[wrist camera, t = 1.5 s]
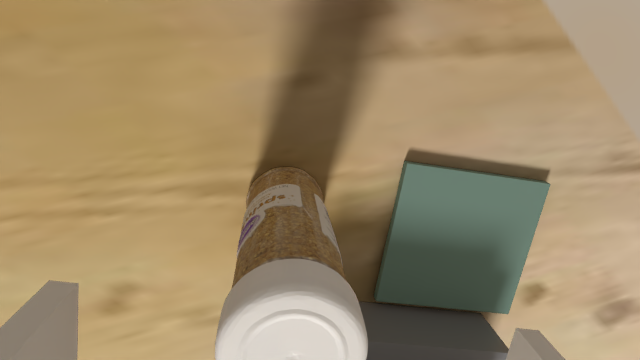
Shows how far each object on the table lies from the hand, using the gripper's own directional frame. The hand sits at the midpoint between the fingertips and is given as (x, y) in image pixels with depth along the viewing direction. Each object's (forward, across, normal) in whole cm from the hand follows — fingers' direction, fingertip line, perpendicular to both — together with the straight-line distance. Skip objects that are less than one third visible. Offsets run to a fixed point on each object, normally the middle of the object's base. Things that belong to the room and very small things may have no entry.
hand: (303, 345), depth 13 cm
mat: (+13, +10, -1) cm, 17 cm away
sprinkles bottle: (+13, 0, 0) cm, 13 cm away
